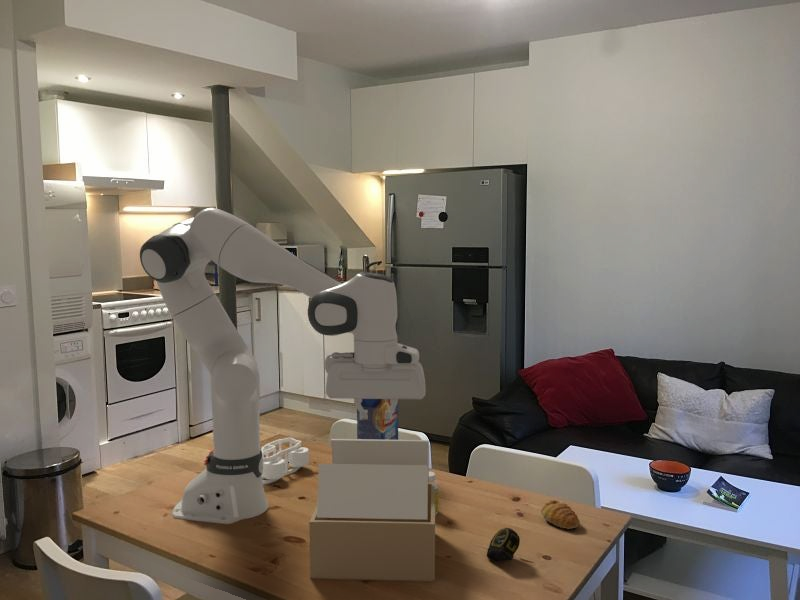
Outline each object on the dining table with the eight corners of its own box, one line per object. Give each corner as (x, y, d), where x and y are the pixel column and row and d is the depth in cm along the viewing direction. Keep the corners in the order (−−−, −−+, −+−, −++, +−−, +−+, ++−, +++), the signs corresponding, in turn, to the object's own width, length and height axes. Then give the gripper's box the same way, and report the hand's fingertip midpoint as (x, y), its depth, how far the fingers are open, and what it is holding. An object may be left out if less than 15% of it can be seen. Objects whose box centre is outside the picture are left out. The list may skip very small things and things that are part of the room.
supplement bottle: (436, 518, 161) (436, 478, 160) (413, 516, 162) (413, 476, 161) (439, 509, 167) (439, 470, 166) (417, 507, 168) (417, 469, 167)
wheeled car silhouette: (271, 488, 181) (271, 461, 180) (240, 481, 186) (239, 455, 186) (316, 466, 199) (315, 441, 198) (285, 460, 204) (285, 436, 203)
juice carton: (382, 481, 185) (381, 395, 183) (357, 478, 188) (356, 392, 186) (398, 467, 196) (398, 385, 194) (374, 464, 199) (374, 383, 197)
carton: (310, 581, 132) (309, 521, 131) (328, 532, 154) (327, 480, 153) (434, 584, 131) (434, 524, 129) (435, 534, 152) (435, 482, 151)
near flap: (317, 517, 131) (316, 517, 131) (319, 463, 134) (318, 463, 133) (427, 519, 130) (427, 519, 130) (427, 465, 132) (427, 465, 132)
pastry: (586, 528, 155) (588, 512, 155) (563, 533, 152) (564, 516, 152) (559, 512, 164) (560, 497, 163) (537, 516, 160) (538, 501, 160)
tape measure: (495, 565, 140) (481, 554, 140) (510, 537, 144) (497, 526, 144) (513, 565, 135) (499, 553, 134) (528, 536, 138) (515, 524, 138)
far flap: (428, 481, 151) (428, 479, 151) (428, 441, 147) (428, 440, 148) (333, 479, 152) (333, 478, 152) (331, 440, 148) (331, 438, 149)
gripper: (322, 355, 136) (323, 423, 137) (425, 355, 134) (425, 424, 136) (327, 349, 142) (328, 414, 143) (425, 350, 141) (425, 416, 142)
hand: (376, 419), depth 139 cm, fingers open, 4 cm apart
